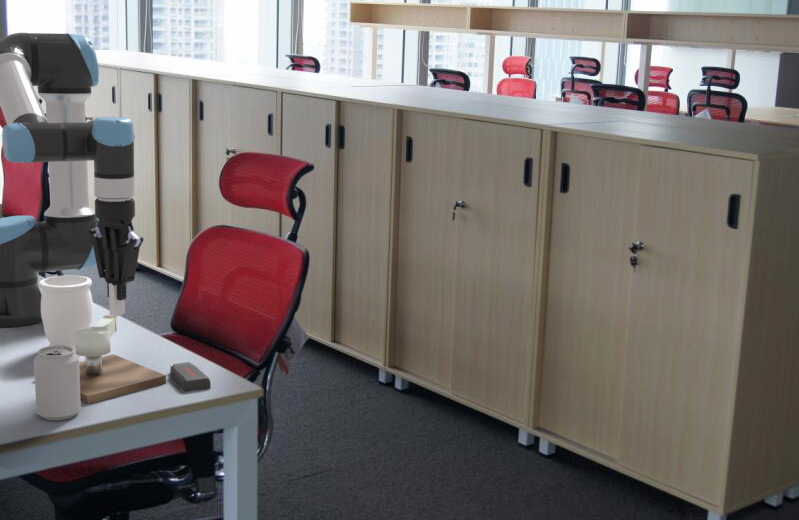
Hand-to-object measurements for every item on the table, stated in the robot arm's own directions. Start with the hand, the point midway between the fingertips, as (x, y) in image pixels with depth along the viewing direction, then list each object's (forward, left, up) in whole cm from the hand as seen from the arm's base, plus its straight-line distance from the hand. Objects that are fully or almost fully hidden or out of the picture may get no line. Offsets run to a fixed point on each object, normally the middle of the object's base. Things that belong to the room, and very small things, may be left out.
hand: (117, 314), depth 209 cm
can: (+15, -22, -11) cm, 29 cm away
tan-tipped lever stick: (0, -4, -5) cm, 7 cm away
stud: (+4, -8, -10) cm, 13 cm away
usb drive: (+16, +5, -12) cm, 20 cm away
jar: (-17, -1, -11) cm, 21 cm away
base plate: (+5, -7, -11) cm, 14 cm away
